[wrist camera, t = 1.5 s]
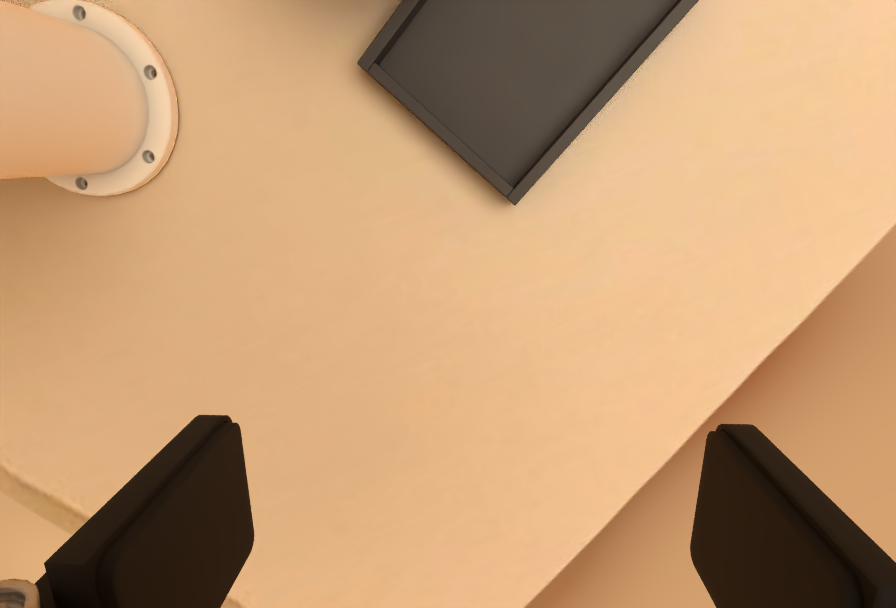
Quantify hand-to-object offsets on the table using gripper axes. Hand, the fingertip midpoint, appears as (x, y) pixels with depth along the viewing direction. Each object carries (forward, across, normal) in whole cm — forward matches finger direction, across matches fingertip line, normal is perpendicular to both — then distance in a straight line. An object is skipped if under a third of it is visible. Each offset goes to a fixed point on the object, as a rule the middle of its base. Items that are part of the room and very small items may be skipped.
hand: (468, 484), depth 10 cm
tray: (+29, -4, -14) cm, 32 cm away
